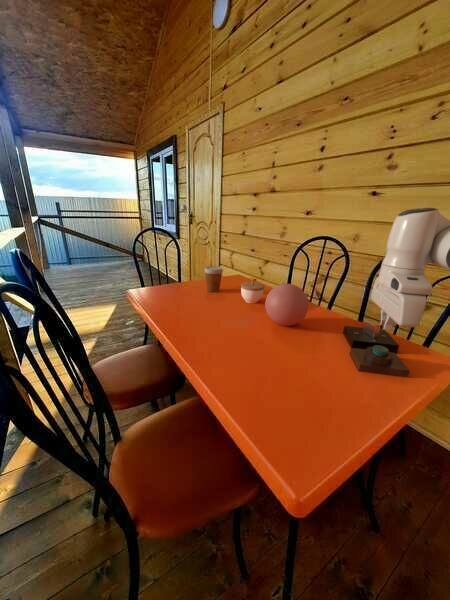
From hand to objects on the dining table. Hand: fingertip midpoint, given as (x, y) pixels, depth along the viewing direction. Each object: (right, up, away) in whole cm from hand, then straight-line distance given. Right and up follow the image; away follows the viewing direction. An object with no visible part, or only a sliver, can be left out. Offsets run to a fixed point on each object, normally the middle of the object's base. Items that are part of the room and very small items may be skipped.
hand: (385, 328), depth 67 cm
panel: (+4, -7, +16) cm, 18 cm away
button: (0, -7, +3) cm, 8 cm away
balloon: (-18, -1, +29) cm, 35 cm away
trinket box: (-30, +7, +52) cm, 60 cm away
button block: (0, -11, +4) cm, 11 cm away
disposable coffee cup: (-49, +12, +65) cm, 82 cm away
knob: (+4, -4, +15) cm, 16 cm away
